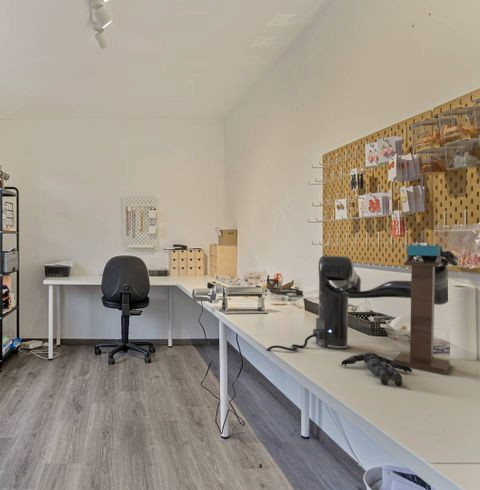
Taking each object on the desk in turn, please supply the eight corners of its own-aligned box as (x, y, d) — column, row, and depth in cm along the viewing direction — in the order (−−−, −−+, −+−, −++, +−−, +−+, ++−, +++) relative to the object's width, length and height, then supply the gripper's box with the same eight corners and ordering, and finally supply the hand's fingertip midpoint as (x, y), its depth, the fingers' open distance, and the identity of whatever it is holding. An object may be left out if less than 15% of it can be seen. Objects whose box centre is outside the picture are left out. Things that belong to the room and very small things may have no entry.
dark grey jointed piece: (432, 392, 93) (399, 365, 112) (433, 375, 93) (400, 351, 112) (352, 383, 99) (334, 358, 118) (353, 367, 99) (334, 345, 118)
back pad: (436, 255, 107) (436, 245, 107) (406, 255, 112) (406, 245, 112) (444, 254, 120) (444, 245, 120) (416, 254, 125) (416, 245, 125)
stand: (445, 374, 105) (447, 263, 104) (393, 364, 114) (395, 261, 113) (449, 365, 113) (451, 262, 112) (400, 356, 122) (402, 260, 121)
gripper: (460, 282, 122) (456, 258, 112) (406, 278, 133) (398, 256, 123) (461, 262, 125) (458, 237, 114) (408, 260, 135) (401, 237, 125)
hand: (427, 247), depth 119 cm, fingers closed on back pad, 4 cm apart
